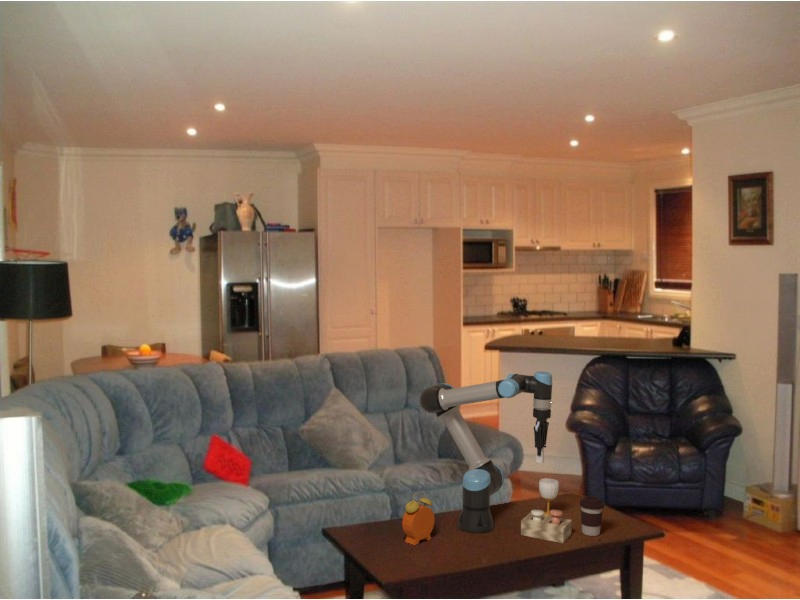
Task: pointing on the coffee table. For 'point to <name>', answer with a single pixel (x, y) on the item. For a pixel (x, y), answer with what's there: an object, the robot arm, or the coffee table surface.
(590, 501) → the coffee cup
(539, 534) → the beech block
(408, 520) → the alarm clock
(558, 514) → the terracotta plug
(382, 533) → the coffee table surface
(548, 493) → the cup
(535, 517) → the ivory plug
